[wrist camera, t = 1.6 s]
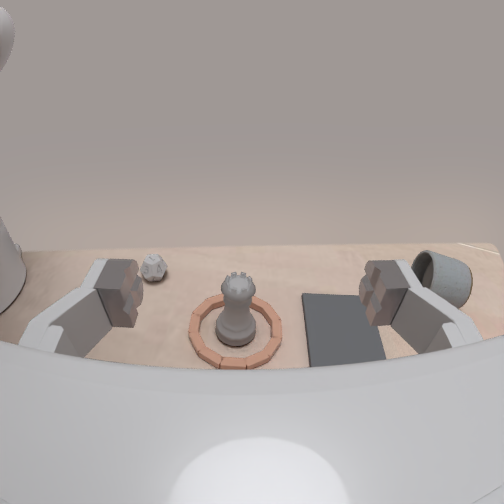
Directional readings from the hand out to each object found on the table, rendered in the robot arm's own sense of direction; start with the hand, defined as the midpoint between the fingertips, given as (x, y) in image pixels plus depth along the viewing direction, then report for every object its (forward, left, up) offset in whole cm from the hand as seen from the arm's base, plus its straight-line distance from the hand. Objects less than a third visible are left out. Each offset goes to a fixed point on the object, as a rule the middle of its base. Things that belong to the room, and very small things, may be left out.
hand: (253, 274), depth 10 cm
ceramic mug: (+28, +20, -21) cm, 40 cm away
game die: (-12, +20, -21) cm, 31 cm away
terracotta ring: (0, +12, -20) cm, 24 cm away
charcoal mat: (+12, +12, -20) cm, 27 cm away
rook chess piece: (0, +12, -21) cm, 24 cm away
